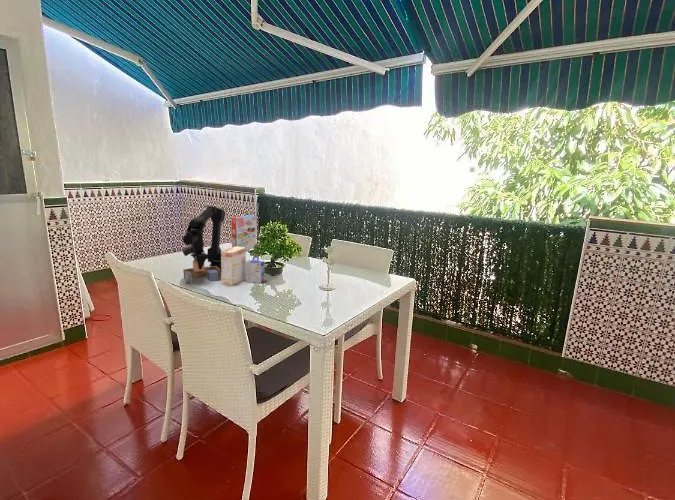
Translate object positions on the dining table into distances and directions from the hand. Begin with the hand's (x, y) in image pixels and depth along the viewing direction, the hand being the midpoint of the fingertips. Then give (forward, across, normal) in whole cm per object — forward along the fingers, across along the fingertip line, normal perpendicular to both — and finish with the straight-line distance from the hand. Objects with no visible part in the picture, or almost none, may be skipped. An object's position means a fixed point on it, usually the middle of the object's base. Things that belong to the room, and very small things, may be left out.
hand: (198, 268), depth 216 cm
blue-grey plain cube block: (+8, 0, +8) cm, 11 cm away
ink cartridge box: (+8, +15, +28) cm, 33 cm away
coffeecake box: (+8, +10, +17) cm, 21 cm away
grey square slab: (+8, 0, -6) cm, 10 cm away
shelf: (+8, -2, +2) cm, 8 cm away
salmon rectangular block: (+1, 0, 0) cm, 1 cm away
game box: (+8, -63, +50) cm, 81 cm away
